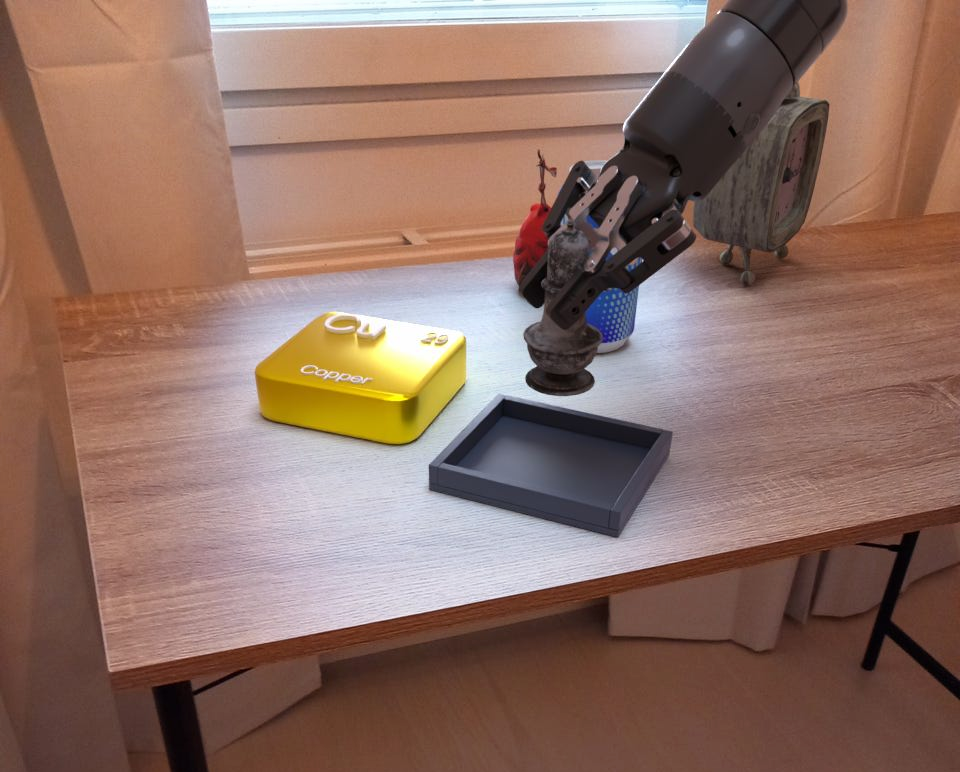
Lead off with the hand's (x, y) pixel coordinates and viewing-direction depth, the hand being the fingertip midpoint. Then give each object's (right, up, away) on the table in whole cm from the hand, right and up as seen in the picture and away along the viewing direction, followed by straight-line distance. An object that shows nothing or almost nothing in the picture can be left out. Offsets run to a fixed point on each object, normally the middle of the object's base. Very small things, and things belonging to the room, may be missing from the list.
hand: (541, 310), depth 73 cm
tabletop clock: (+26, +20, +46) cm, 56 cm away
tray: (+2, -10, +9) cm, 14 cm away
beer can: (+7, +7, +30) cm, 31 cm away
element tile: (-15, -2, +19) cm, 24 cm away
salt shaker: (+2, -4, +4) cm, 6 cm away
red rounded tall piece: (+3, +15, +39) cm, 42 cm away
